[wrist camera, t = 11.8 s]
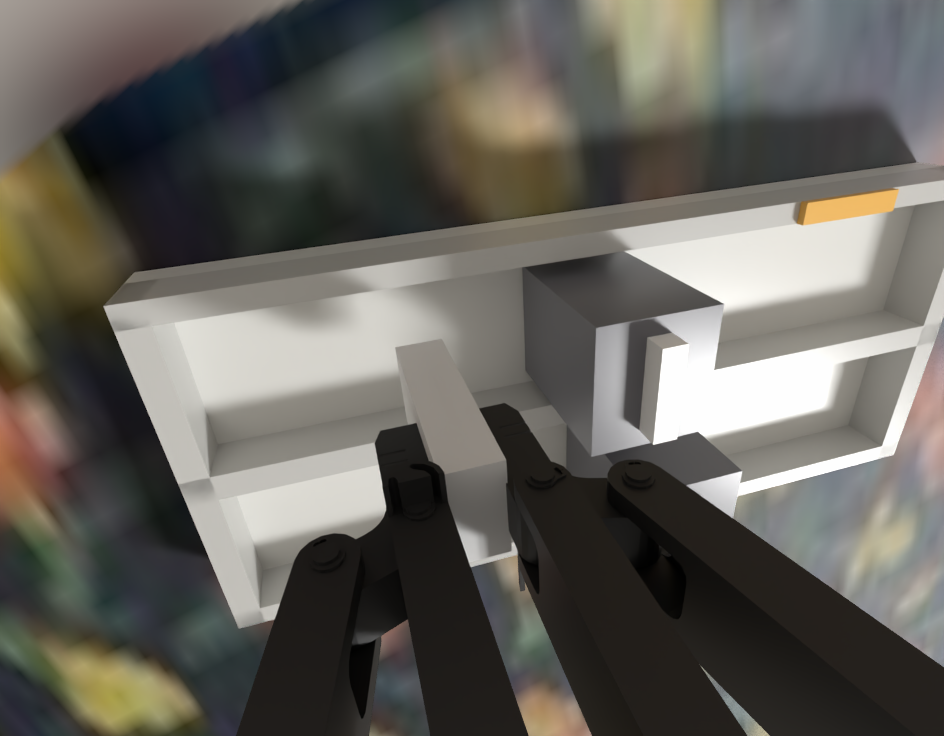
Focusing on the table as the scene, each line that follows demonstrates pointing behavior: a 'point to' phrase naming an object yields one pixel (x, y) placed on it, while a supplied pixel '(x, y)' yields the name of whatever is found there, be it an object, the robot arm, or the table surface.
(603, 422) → the tab
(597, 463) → the tab
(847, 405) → the tray
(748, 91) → the table surface
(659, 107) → the table surface
